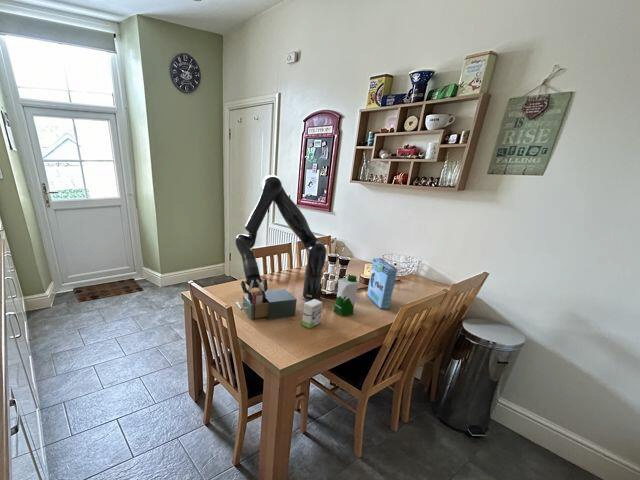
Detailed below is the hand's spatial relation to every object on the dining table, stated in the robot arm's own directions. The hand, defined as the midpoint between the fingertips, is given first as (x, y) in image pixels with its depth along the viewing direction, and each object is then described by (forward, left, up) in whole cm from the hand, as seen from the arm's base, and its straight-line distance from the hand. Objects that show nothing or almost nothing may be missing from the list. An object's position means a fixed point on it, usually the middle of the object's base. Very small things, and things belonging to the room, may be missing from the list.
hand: (257, 299), depth 164 cm
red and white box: (0, -2, -7) cm, 8 cm away
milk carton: (-46, +8, -9) cm, 47 cm away
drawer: (+1, -2, -8) cm, 9 cm away
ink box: (-23, +15, -9) cm, 29 cm away
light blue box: (-73, +1, -9) cm, 73 cm away
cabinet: (-12, -2, -9) cm, 15 cm away
